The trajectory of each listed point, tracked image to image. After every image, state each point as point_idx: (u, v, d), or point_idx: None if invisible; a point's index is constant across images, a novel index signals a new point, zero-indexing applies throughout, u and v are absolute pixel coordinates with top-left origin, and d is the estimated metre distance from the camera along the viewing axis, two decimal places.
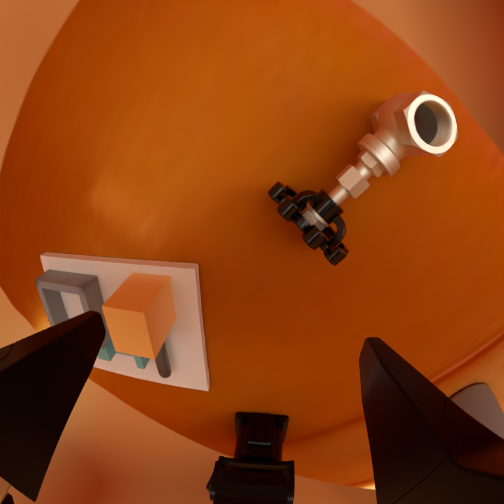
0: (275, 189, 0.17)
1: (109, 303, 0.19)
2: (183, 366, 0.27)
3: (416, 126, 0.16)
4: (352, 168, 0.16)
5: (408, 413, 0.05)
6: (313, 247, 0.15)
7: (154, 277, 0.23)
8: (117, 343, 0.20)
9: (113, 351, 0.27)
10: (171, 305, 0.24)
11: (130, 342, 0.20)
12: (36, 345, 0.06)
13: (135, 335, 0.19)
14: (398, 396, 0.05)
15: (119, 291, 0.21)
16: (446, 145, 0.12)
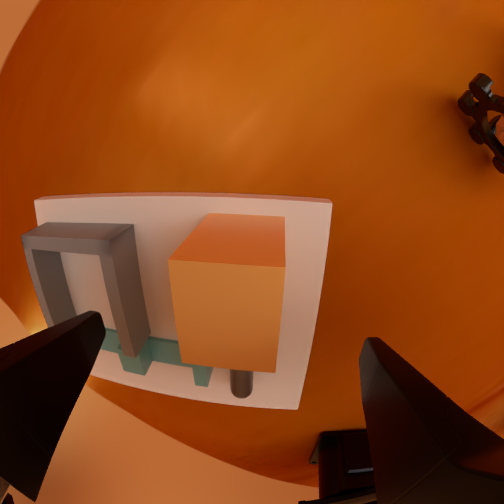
0: (483, 79, 0.07)
1: (185, 254, 0.09)
2: (269, 377, 0.18)
3: None
4: None
5: (408, 413, 0.05)
6: None
7: (256, 218, 0.13)
8: (190, 346, 0.10)
9: (149, 359, 0.17)
10: None
11: (227, 342, 0.10)
12: (36, 345, 0.06)
13: (243, 326, 0.09)
14: (398, 396, 0.05)
15: (199, 235, 0.11)
16: None
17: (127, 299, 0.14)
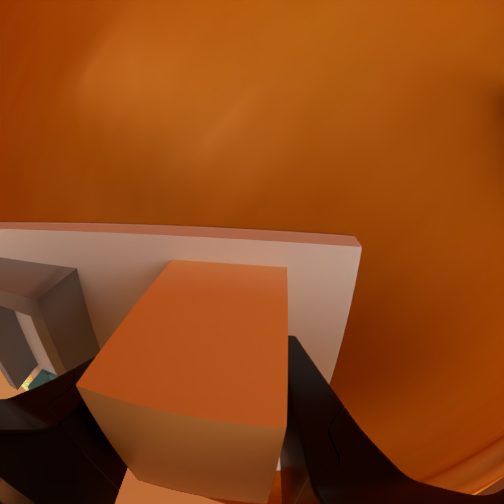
0: None
1: (106, 373, 0.04)
2: None
3: None
4: None
5: (292, 419, 0.05)
6: None
7: (242, 273, 0.08)
8: (143, 472, 0.05)
9: None
10: None
11: (193, 480, 0.05)
12: None
13: (214, 473, 0.05)
14: (288, 399, 0.06)
15: (141, 319, 0.06)
16: None
17: None
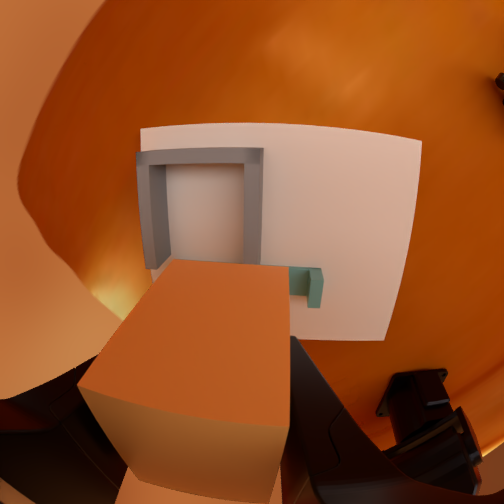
0: None
1: (108, 373, 0.04)
2: (366, 301, 0.19)
3: None
4: None
5: (292, 419, 0.05)
6: None
7: (244, 272, 0.08)
8: (144, 472, 0.05)
9: None
10: None
11: (194, 480, 0.05)
12: None
13: (216, 473, 0.05)
14: None
15: (142, 319, 0.06)
16: None
17: (259, 212, 0.16)
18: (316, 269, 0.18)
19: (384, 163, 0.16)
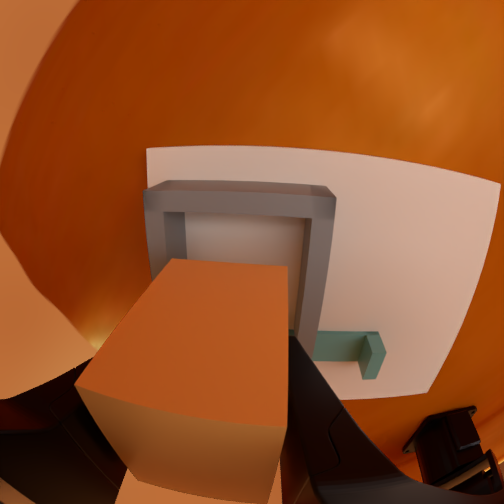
0: None
1: (105, 373, 0.04)
2: (418, 360, 0.15)
3: None
4: None
5: (292, 419, 0.05)
6: None
7: (242, 272, 0.08)
8: (142, 472, 0.05)
9: None
10: None
11: (192, 480, 0.05)
12: None
13: (214, 473, 0.05)
14: (288, 399, 0.06)
15: (140, 319, 0.06)
16: None
17: None
18: (374, 334, 0.14)
19: (463, 210, 0.11)
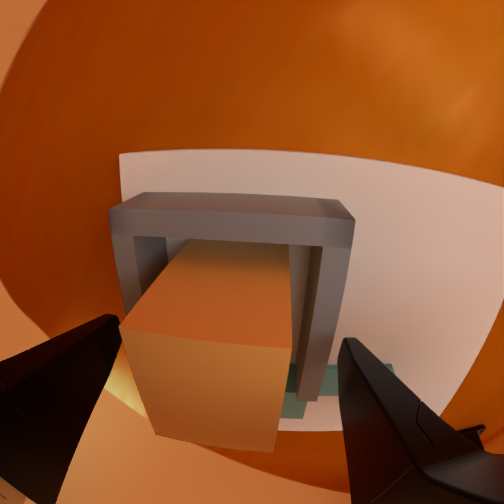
0: None
1: (145, 317, 0.06)
2: (431, 388, 0.13)
3: None
4: None
5: (378, 416, 0.05)
6: None
7: (251, 248, 0.10)
8: (163, 422, 0.07)
9: None
10: None
11: (209, 423, 0.07)
12: (53, 352, 0.06)
13: (230, 411, 0.06)
14: (369, 398, 0.06)
15: (169, 280, 0.08)
16: None
17: None
18: None
19: (493, 228, 0.09)
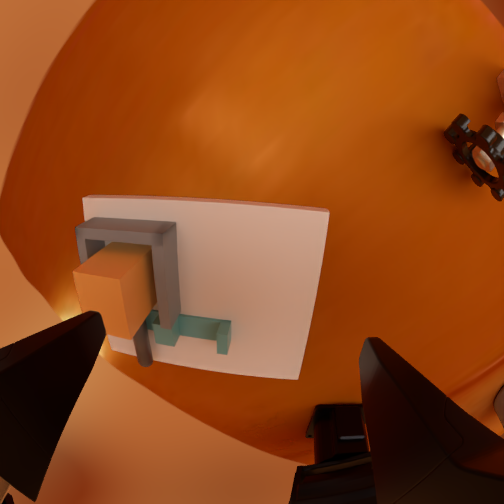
0: (462, 119, 0.12)
1: (81, 268, 0.15)
2: (275, 348, 0.22)
3: None
4: None
5: (408, 413, 0.05)
6: None
7: (137, 245, 0.19)
8: None
9: (178, 333, 0.22)
10: None
11: (103, 318, 0.16)
12: (36, 345, 0.06)
13: (108, 309, 0.16)
14: (398, 396, 0.05)
15: (95, 257, 0.17)
16: None
17: (169, 280, 0.19)
18: (226, 322, 0.21)
19: (287, 235, 0.19)
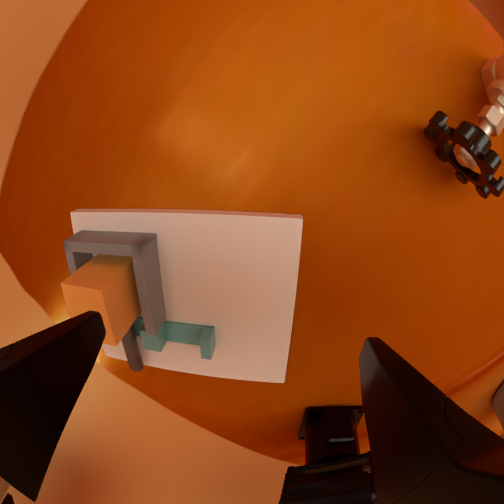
0: (440, 117, 0.12)
1: (68, 280, 0.16)
2: (259, 353, 0.23)
3: None
4: (493, 107, 0.11)
5: (408, 413, 0.05)
6: (494, 171, 0.10)
7: (121, 256, 0.20)
8: None
9: (164, 339, 0.23)
10: None
11: None
12: (36, 345, 0.06)
13: None
14: (398, 396, 0.05)
15: (82, 269, 0.18)
16: None
17: (151, 289, 0.19)
18: (209, 328, 0.22)
19: (262, 243, 0.19)
